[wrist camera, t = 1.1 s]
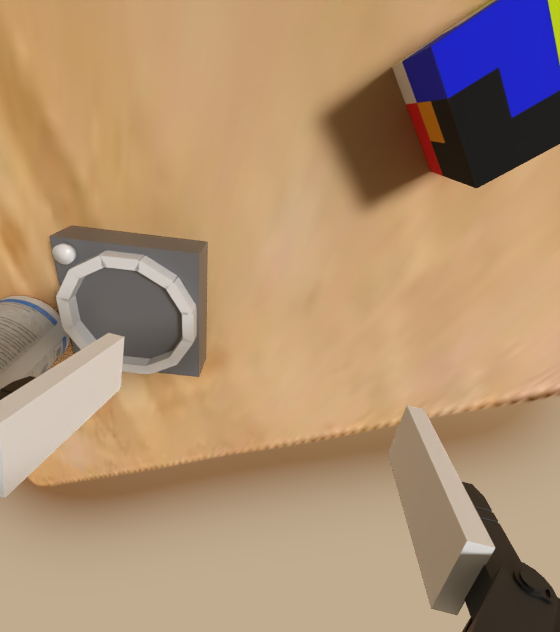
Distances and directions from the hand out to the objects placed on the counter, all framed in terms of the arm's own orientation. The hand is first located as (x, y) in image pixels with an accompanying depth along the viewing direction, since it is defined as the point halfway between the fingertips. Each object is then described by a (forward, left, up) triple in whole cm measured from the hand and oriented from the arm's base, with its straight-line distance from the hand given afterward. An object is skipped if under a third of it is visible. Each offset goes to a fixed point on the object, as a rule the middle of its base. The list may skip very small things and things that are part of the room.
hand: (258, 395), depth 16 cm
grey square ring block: (+10, -15, -26) cm, 31 cm away
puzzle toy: (-15, +15, -26) cm, 34 cm away
